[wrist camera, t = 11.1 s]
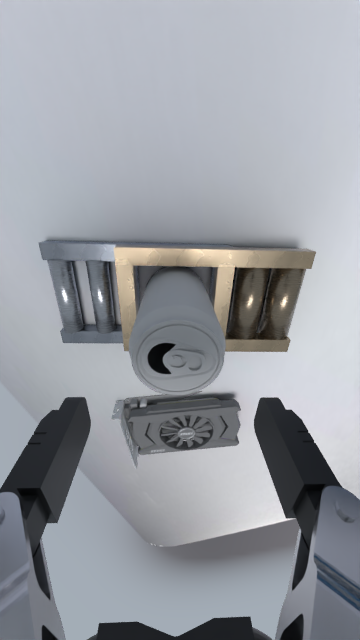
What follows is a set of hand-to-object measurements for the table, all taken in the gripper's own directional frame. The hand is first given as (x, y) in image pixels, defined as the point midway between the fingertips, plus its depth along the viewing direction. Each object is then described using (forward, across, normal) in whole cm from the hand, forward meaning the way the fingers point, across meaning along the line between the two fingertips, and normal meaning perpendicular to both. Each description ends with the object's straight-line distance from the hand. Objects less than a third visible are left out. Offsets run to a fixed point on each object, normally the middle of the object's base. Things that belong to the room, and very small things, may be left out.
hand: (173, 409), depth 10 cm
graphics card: (+16, -2, +21) cm, 26 cm away
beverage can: (+16, 0, 0) cm, 16 cm away
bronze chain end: (+15, -4, 0) cm, 16 cm away
